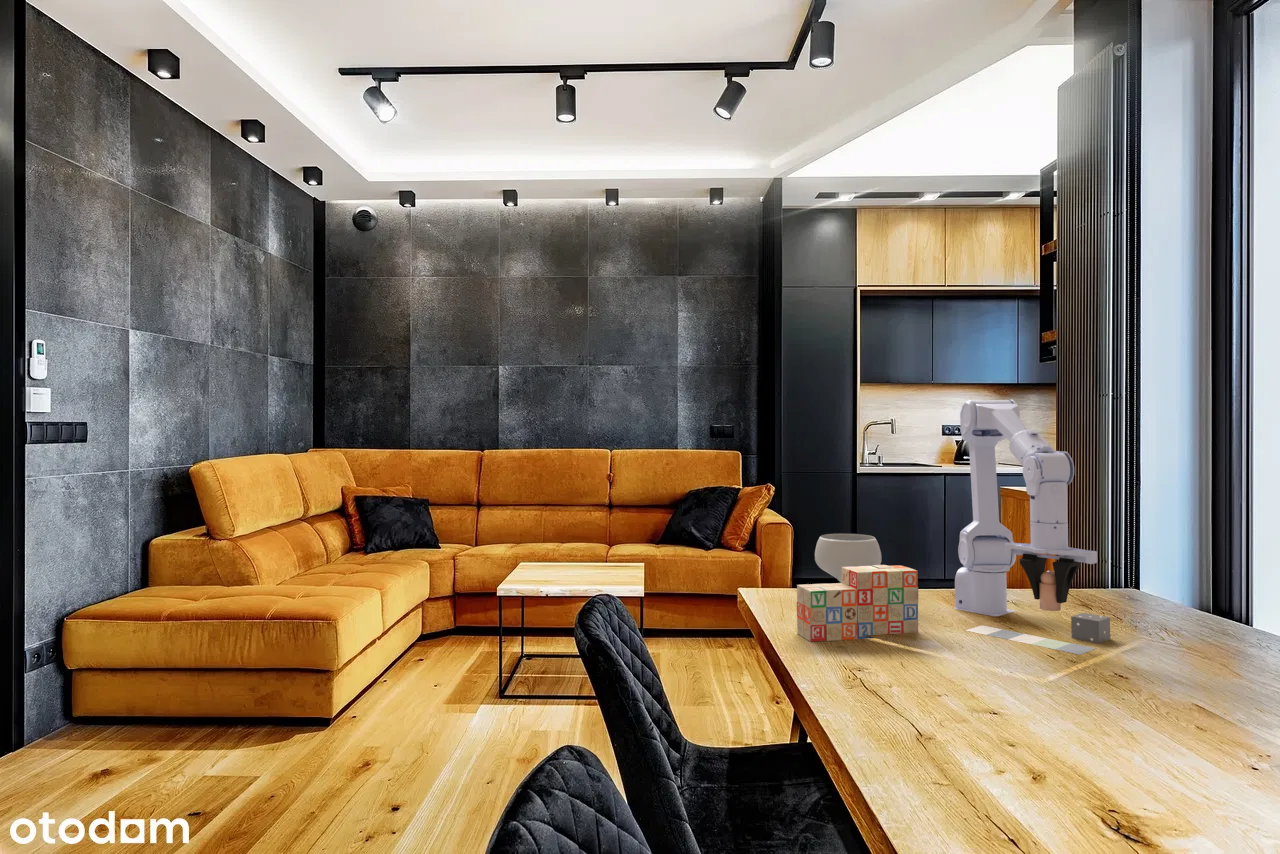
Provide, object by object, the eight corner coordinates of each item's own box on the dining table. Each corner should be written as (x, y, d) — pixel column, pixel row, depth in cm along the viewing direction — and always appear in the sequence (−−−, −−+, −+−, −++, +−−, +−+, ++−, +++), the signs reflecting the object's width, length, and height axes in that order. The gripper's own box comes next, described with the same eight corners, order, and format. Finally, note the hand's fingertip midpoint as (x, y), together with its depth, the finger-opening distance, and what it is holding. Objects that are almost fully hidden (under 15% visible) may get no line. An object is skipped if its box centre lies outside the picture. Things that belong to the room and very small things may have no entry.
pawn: (1036, 608, 131) (1035, 570, 131) (1045, 606, 132) (1044, 568, 133) (1055, 611, 128) (1054, 573, 128) (1064, 609, 130) (1063, 570, 130)
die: (1071, 641, 134) (1070, 615, 134) (1083, 637, 137) (1082, 612, 137) (1099, 647, 130) (1098, 620, 130) (1111, 643, 133) (1110, 616, 133)
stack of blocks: (810, 643, 135) (809, 574, 135) (796, 634, 141) (795, 568, 141) (919, 636, 139) (918, 569, 139) (901, 627, 145) (900, 563, 145)
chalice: (868, 598, 171) (867, 532, 171) (892, 612, 157) (891, 540, 157) (807, 600, 170) (806, 533, 170) (826, 614, 156) (825, 541, 156)
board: (965, 633, 140) (965, 630, 140) (982, 628, 143) (982, 625, 143) (1080, 658, 124) (1080, 654, 124) (1096, 651, 127) (1096, 648, 127)
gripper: (996, 520, 134) (997, 596, 134) (1083, 527, 122) (1084, 611, 122) (1015, 517, 138) (1017, 591, 138) (1102, 524, 127) (1103, 605, 126)
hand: (1050, 600), depth 130 cm, fingers closed on pawn, 3 cm apart
